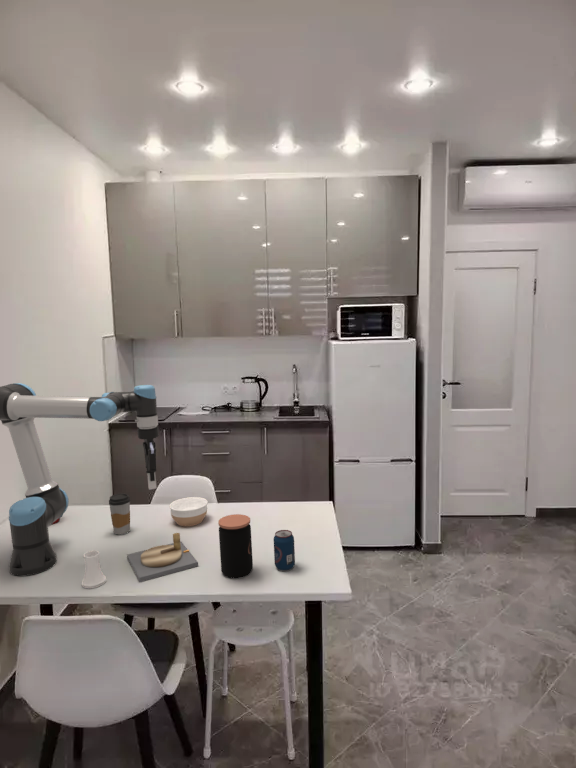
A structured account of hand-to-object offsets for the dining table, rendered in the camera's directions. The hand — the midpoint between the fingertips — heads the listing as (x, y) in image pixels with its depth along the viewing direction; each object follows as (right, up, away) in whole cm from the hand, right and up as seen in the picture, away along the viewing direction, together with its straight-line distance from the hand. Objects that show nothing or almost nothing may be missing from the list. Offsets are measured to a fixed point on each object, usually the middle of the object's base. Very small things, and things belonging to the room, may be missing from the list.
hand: (152, 488), depth 192 cm
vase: (-13, -26, -24) cm, 38 cm away
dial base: (+6, -24, -11) cm, 27 cm away
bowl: (+9, -19, +25) cm, 33 cm away
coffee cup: (-17, -21, +17) cm, 32 cm away
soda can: (+50, -23, -19) cm, 58 cm away
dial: (+6, -22, -11) cm, 26 cm away
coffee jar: (+34, -24, -20) cm, 46 cm away
